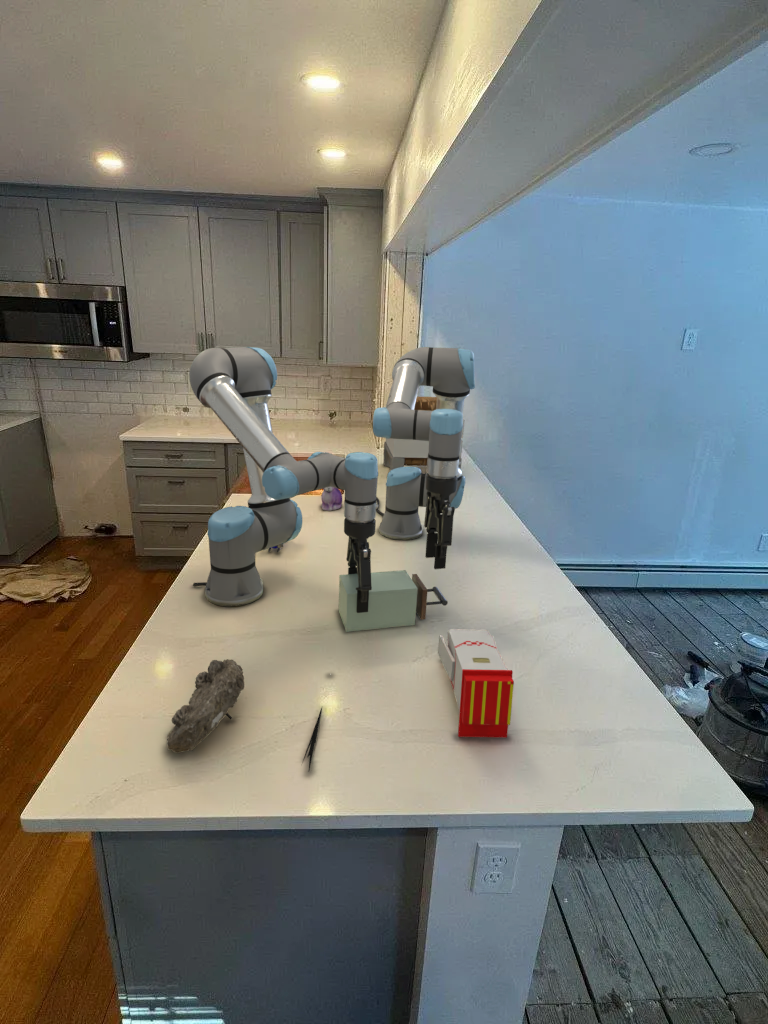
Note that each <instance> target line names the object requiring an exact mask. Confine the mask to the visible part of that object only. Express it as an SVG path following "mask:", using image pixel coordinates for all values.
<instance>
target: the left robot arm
mask: <svg viewBox="0 0 768 1024" xmlns="http://www.w3.org/2000/svg"><path fill="white" fill-rule="evenodd" d="M275 363H276V362H275V361H274V359H273V357H272V356H271V355H270V354H269V353H268V352H267V351H266V350H264V349H263V348H261V347H254V346H252V347H251V346H237V347H236V346H234V347H210V348H207V349H205V350H203V351H201V352H200V353H198V354H197V355H196V356H195V358H194V359H193V361H192V363H191V365H190V367H189V372H188V373H189V374H188V375H189V376H188V377H189V384H190V388H191V390H192V393H193V394H194V396H195V398H196V399H197V400H198V401H199V403H200V404H201V405H202V406H203V407H205V408H207V409H211V411H212V412H213V413H214V415H216V417H217V418H218V420H220V421H221V423H222V424H223V425H224V427H225V428H226V429H227V430H228V431H229V432H230V434H231V435H232V436H233V437H234V438H235V440H236V441H237V442H238V443H239V445H240V446H241V447H242V450H243V457H244V461H245V466H246V470H247V477H248V482H249V487H250V492H251V495H250V497H249V499H248V500H247V506H246V505H235V506H232V505H231V506H227V507H223V508H220V509H218V510H217V511H215V512H213V513H212V514H211V515H210V517H209V519H208V521H207V537H208V548H209V563H210V564H209V565H210V571H209V573H208V576H207V579H206V580H207V581H205V582H204V581H203V582H201V581H199V582H193V583H192V586H193V587H205V588H204V594H205V599H206V600H207V601H208V602H210V603H211V604H213V605H216V606H220V607H240V606H245V605H248V604H251V603H254V602H256V601H257V600H259V599H260V598H261V597H262V596H263V594H264V580H263V578H261V575H260V573H259V571H258V568H257V566H256V565H257V564H256V554H257V553H259V552H261V551H264V550H267V549H269V548H271V547H274V546H276V545H279V544H283V545H284V544H286V543H288V542H290V541H292V540H294V539H296V538H297V537H298V536H299V535H300V532H301V530H302V528H303V513H302V510H301V508H300V506H298V503H297V502H296V501H294V500H293V499H292V498H294V497H296V496H301V495H303V494H307V493H311V492H316V491H319V490H323V488H326V487H334V488H338V489H339V490H341V491H344V501H343V502H344V503H343V514H344V515H343V517H344V520H343V533H344V534H345V536H347V537H348V541H347V552H346V558H345V559H346V562H347V567H348V568H347V574H358V587H356V590H357V613H363V612H368V601H369V590H372V587H371V573H372V564H371V561H372V560H371V558H372V557H371V555H372V554H371V553H372V550H371V548H370V543H369V541H368V539H369V538H371V537H373V536H374V535H375V534H376V523H377V520H376V516H377V511H376V508H378V504H377V501H376V499H377V498H378V497H377V491H378V481H379V480H378V479H379V465H378V464H379V462H378V461H379V460H378V457H377V456H376V455H375V454H374V453H371V452H363V451H354V452H350V453H347V455H346V456H345V457H343V456H339V455H336V454H333V453H330V452H323V451H315V452H313V453H312V454H311V455H310V456H308V458H307V459H303V460H296V459H295V457H294V456H293V455H292V454H291V453H290V452H289V451H288V450H287V448H286V447H285V446H284V445H283V444H282V443H281V441H280V440H279V439H278V438H277V436H276V435H275V434H274V433H273V432H274V431H273V427H272V421H271V416H270V410H269V405H268V403H269V401H270V400H271V398H272V396H273V395H272V389H274V388H275V387H276V384H277V380H278V371H277V366H276V364H275ZM376 497H377V498H376ZM378 509H379V508H378ZM271 549H272V548H271Z"/></svg>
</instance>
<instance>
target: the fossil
mask: <svg viewBox="0 0 768 1024" xmlns="http://www.w3.org/2000/svg"><path fill="white" fill-rule="evenodd" d="M243 670H244V669H243V667H242V665H240V664H237V662H236V661H235V660H234V659H232V658H231V659H227V658H226V659H224V660H223V661H222V660H217V659H212V660H211V661H210V663H209V665H208V666H207V671H201V672H199V673H198V674H197V675H196V676H195V680H194V684H195V685H194V687H195V689H194V690H193V693H192V694H191V697H190V698H189V700H188V704H184V705H182V706H181V707H180V709H177V710H176V711H175V713H174V715H173V716H172V718H171V723H172V724H173V727H172V730H171V731H170V732H168V734H167V738H166V741H167V742H166V745H167V749H168V750H169V751H173V752H174V753H176V754H178V753H182V752H188V751H189V752H192V751H193V750H195V748H196V747H197V746H199V744H200V743H201V742H203V741H204V740H205V739H206V738H207V737H208V736H209V735H210V734H211V733H212V732H214V730H215V729H217V727H218V726H219V724H220V722H221V721H222V720H223V719H224V718H225V716H226V717H227V719H229V720H233V717H232V715H230V714H229V710H230V709H231V708H234V706H235V704H236V703H237V702H238V699H239V697H240V695H241V693H242V691H243V690H245V689H244V688H245V675H244V671H243Z"/></svg>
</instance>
